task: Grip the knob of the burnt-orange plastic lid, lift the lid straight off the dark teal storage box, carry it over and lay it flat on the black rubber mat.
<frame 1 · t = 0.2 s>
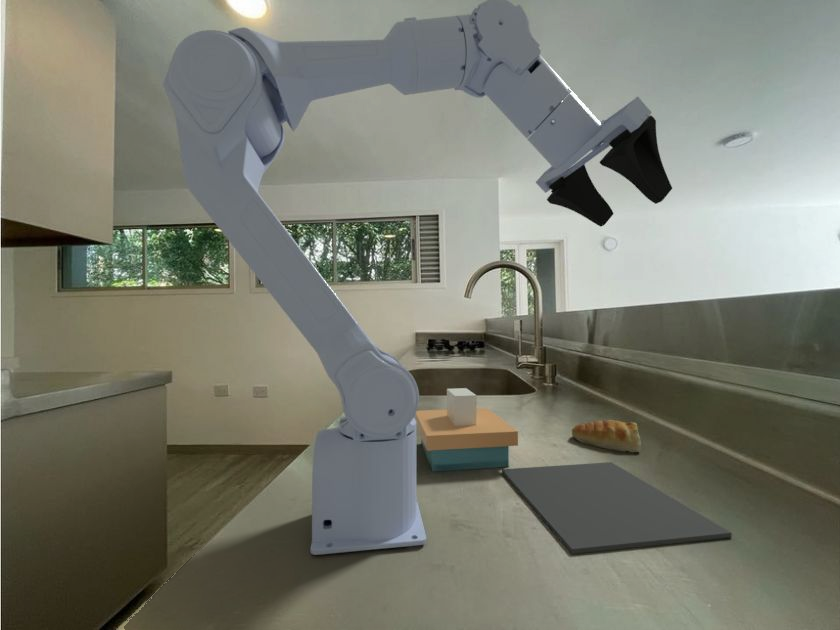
hand: (632, 209, 37), 31 cm above the worktop, tool tilted 45°, fingers open, 7 cm apart
box: (461, 453, 48), on the worktop
mat: (596, 499, 36), on the worktop
pastry: (610, 446, 52), on the worktop
lid: (460, 425, 48), point 4 cm above the worktop, touching box
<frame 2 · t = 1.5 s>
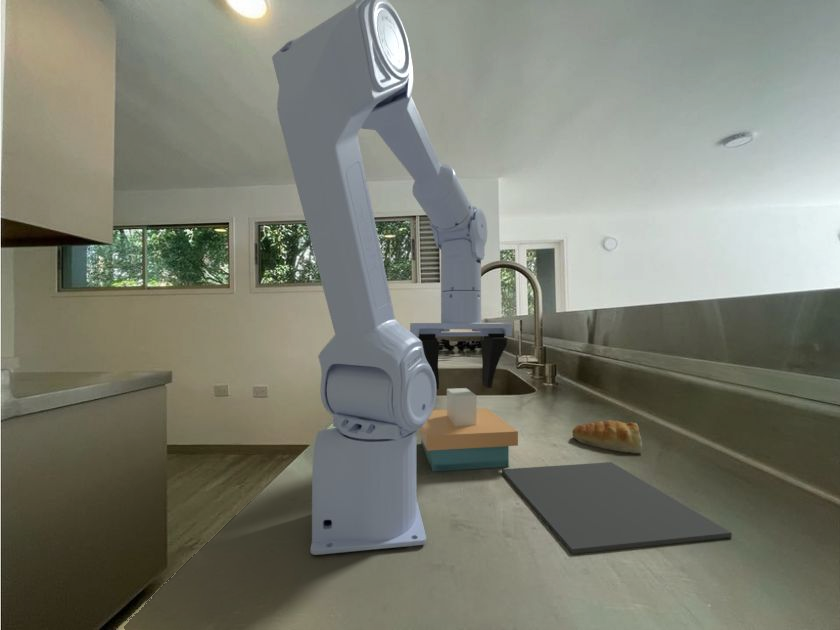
hand: (461, 387, 48), 9 cm above the worktop, tool pointing down, fingers open, 7 cm apart
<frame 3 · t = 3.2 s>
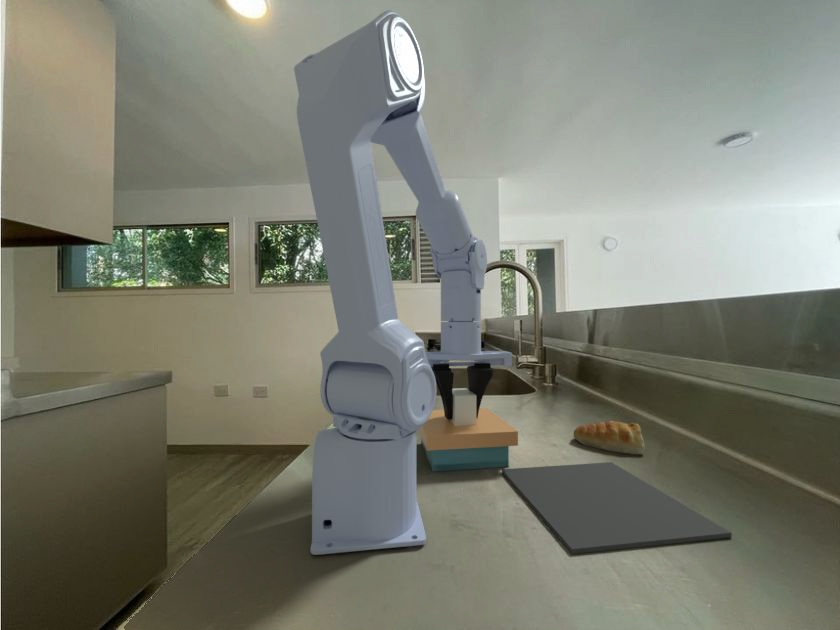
hand: (460, 417, 48), 5 cm above the worktop, tool pointing down, fingers closed on lid, 3 cm apart
lid: (460, 425, 48), point 4 cm above the worktop, touching box, gripper
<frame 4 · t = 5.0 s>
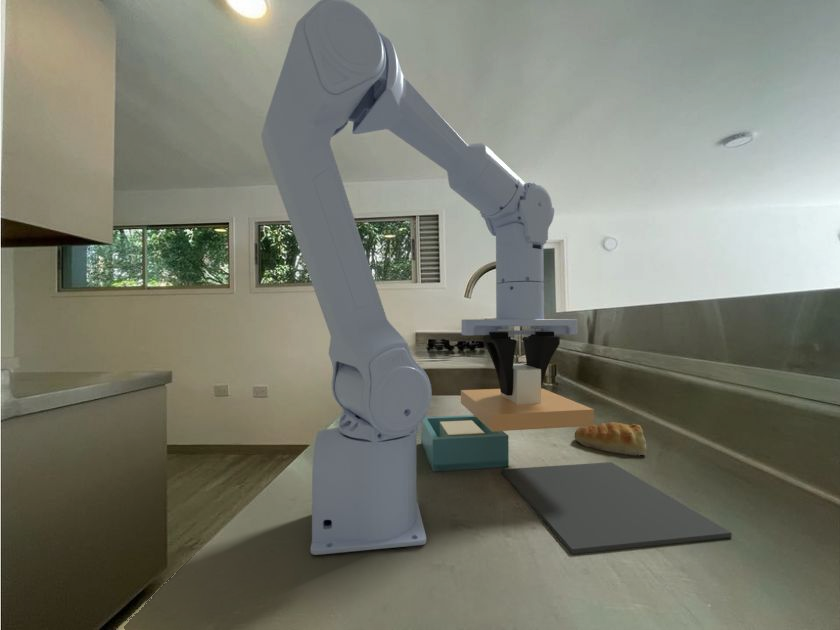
hand: (520, 393, 42), 10 cm above the worktop, tool pointing down, fingers closed on lid, 3 cm apart
lid: (519, 405, 42), point 8 cm above the worktop, touching gripper
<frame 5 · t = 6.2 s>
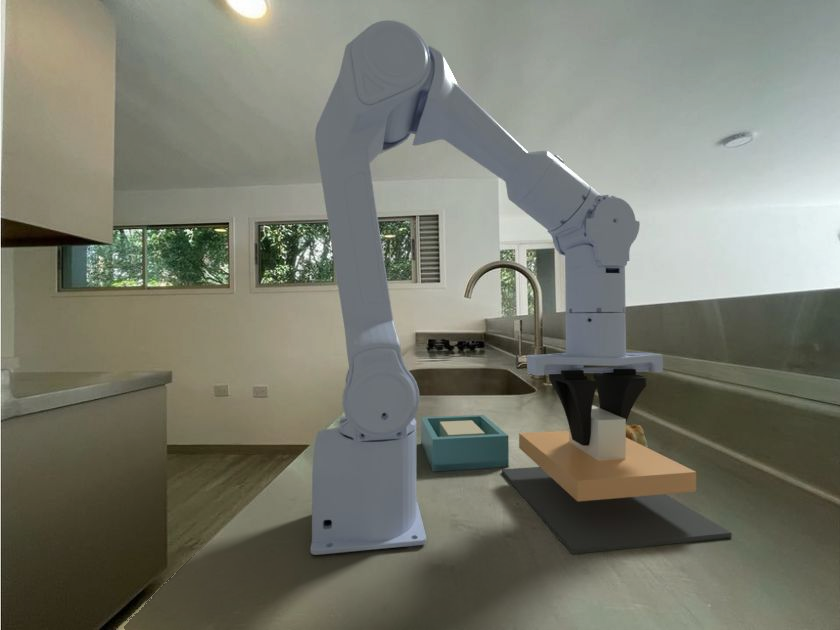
hand: (596, 441, 36), 6 cm above the worktop, tool pointing down, fingers closed on lid, 3 cm apart
lid: (595, 457, 36), point 4 cm above the worktop, touching gripper
when the fingers open (4 cm above the worktop, at t = 7.3 s): lid stays where it is, resting on mat.
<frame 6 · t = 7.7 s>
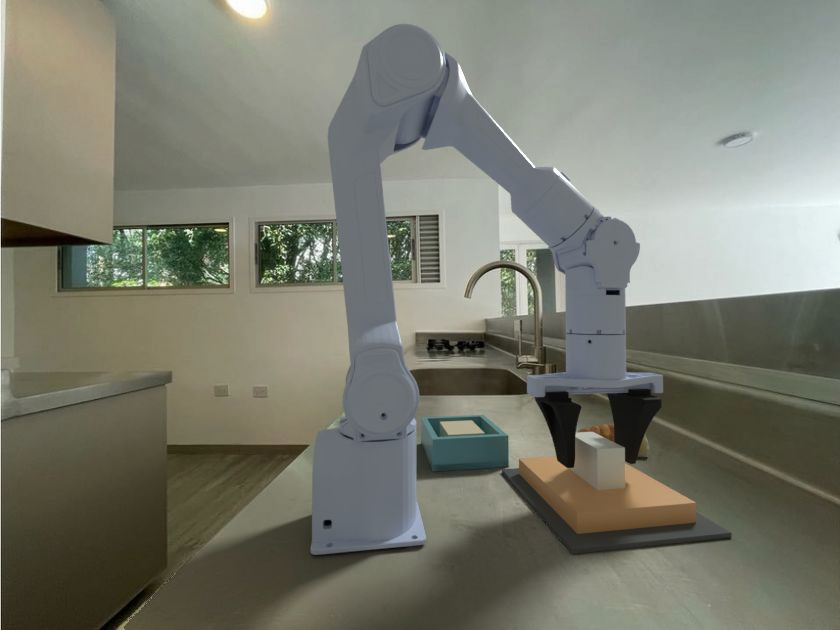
hand: (596, 462, 36), 4 cm above the worktop, tool pointing down, fingers open, 6 cm apart
lid: (595, 485, 36), point 1 cm above the worktop, touching mat
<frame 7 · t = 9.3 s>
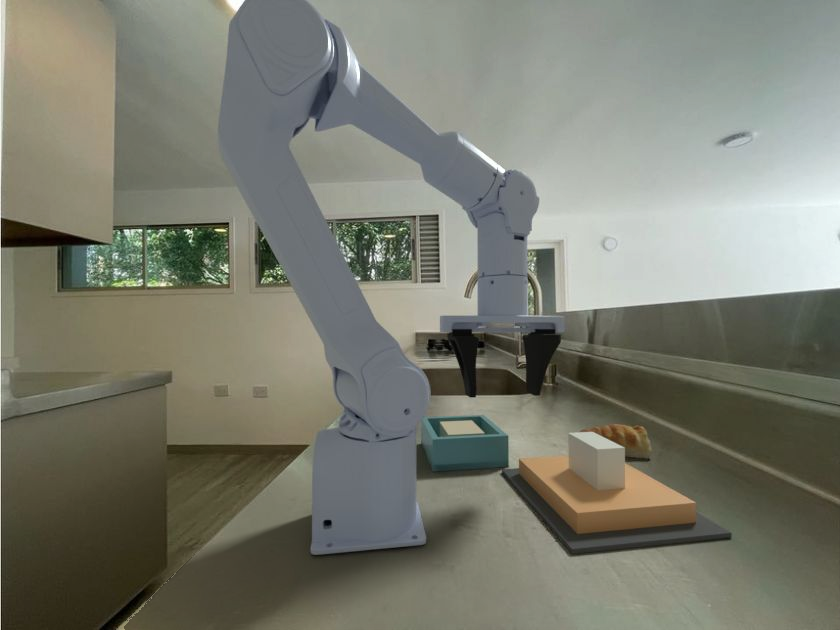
hand: (502, 394, 40), 10 cm above the worktop, tool pointing down, fingers open, 7 cm apart
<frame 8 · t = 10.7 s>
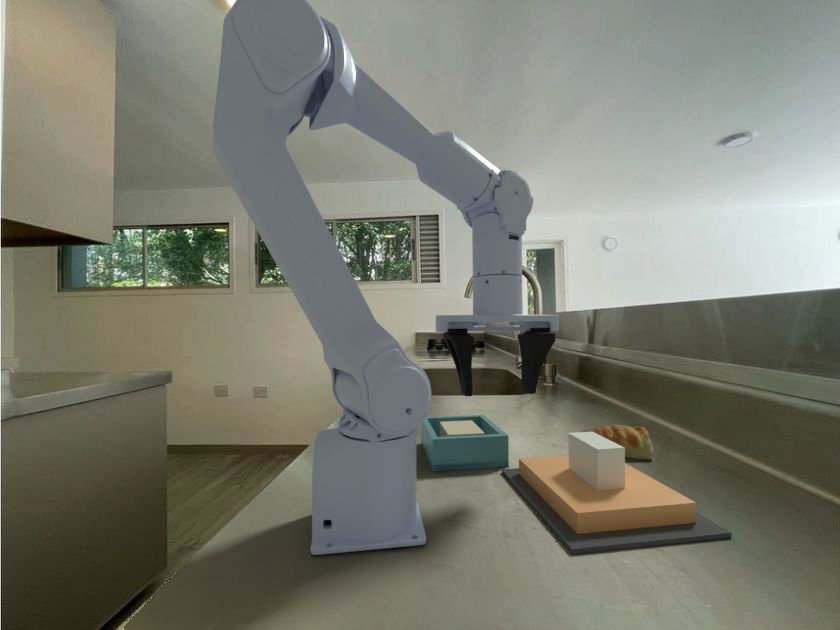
hand: (498, 393, 40), 10 cm above the worktop, tool pointing down, fingers open, 7 cm apart
at the end: lid inside the target area on the mat (0.2 cm from its centre), point 1.4 cm above the mat's base; lid tilted 0°; the gripper is holding nothing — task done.
